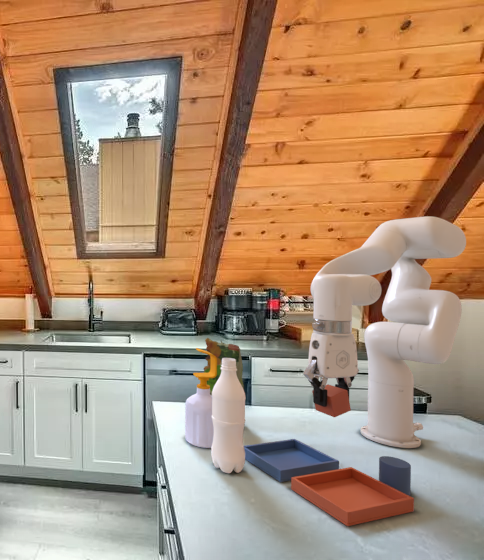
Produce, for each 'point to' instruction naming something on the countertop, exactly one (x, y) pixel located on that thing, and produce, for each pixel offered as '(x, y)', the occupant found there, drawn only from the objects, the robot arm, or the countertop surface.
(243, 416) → the water bottle
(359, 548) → the countertop surface
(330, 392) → the block
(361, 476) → the terracotta tray
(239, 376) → the pouch
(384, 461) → the blue cylinder
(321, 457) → the blue tray
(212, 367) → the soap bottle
